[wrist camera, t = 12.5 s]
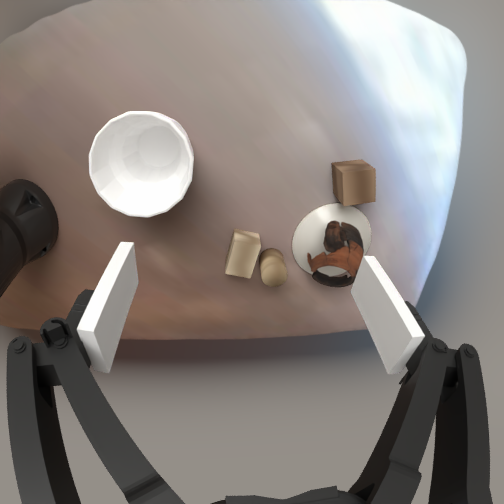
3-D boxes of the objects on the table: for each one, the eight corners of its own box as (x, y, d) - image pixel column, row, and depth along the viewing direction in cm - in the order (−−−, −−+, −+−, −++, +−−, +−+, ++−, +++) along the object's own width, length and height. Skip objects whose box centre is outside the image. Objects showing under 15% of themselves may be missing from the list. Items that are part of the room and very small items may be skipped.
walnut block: (333, 193, 45) (343, 206, 41) (331, 162, 42) (342, 172, 38) (362, 189, 45) (375, 201, 40) (361, 159, 42) (375, 169, 38)
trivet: (285, 273, 52) (286, 275, 52) (299, 199, 45) (300, 199, 45) (358, 276, 54) (358, 277, 53) (379, 207, 46) (380, 208, 46)
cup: (190, 195, 44) (178, 229, 34) (113, 175, 41) (82, 204, 32) (214, 115, 38) (208, 126, 28) (130, 95, 35) (98, 101, 25)
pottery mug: (368, 249, 51) (365, 290, 46) (318, 251, 55) (311, 290, 51) (357, 201, 42) (355, 246, 38) (298, 206, 47) (289, 249, 43)
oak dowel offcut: (257, 267, 51) (260, 286, 47) (260, 247, 49) (263, 265, 45) (281, 268, 52) (285, 287, 48) (284, 249, 50) (289, 266, 45)
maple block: (225, 259, 50) (225, 273, 47) (234, 228, 47) (234, 241, 44) (248, 264, 51) (250, 278, 48) (258, 233, 48) (261, 246, 45)
